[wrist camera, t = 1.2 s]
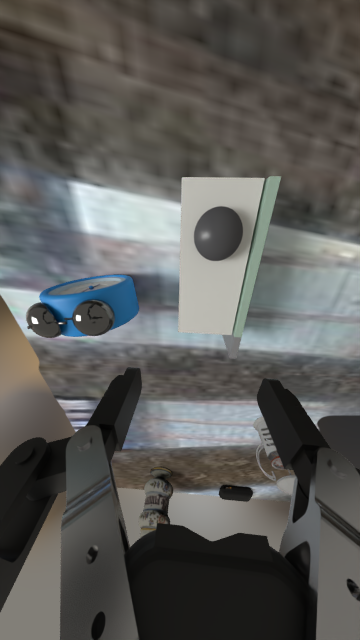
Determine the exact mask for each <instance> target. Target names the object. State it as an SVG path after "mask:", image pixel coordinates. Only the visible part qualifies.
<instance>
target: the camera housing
mask: <svg viewBox="0 0 360 640" xmlns="http://www.w3.org/2000/svg"><path fill="white" fill-rule="evenodd" d="M264 179H265V178H203V177H182V194H181V238H180V282H179V326H178V332H185V333H203V334H221V335H232V331H233V326H234V321H235V317H236V312H237V307H238V302H239V298H240V293H241V288H242V283H243V279H244V274H245V269H246V264H247V260H248V255H249V250H250V246H251V241H252V236H253V231H254V227H255V222H256V217H257V212H258V208H259V203H260V198H261V193H262V189H263V184H264Z"/></svg>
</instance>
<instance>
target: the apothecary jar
mask: <svg viewBox="0 0 360 640" xmlns="http://www.w3.org/2000/svg"><path fill="white" fill-rule="evenodd" d="M150 473H151V474H152V475H153V476H154V477H156V478H154V479H151V480H149V481H148V482H147V483H146V485H145V488H144V490H145V494H146V499H145V505H144V510H143V512H142V513H141V515H140V516H139V521H138V522H139V526H140V528H141V533H140V538H141V537H142V536H144V535H146V534H147V533H149V532H151V531H154V530H156V527H157V523H163V524H170V519H169V517H168V505H169V499H170V498H171V496H172V494H173V488H172V485H171V484H170V483H169V482H168V481H167V480H165V479H167V478H169V477H170V476H171V475H172V472H171V471H170V470H168V469H166V468H162V467H155V468H153V469H151V470H150Z"/></svg>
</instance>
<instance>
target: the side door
mask: <svg viewBox="0 0 360 640" xmlns="http://www.w3.org/2000/svg"><path fill="white" fill-rule="evenodd" d="M280 179H281V176H270V177H269V178H267V179H266V180H265V181H264V184H263V189H262V193H261V198H260V203H259V208H258V212H257V217H256V222H255V227H254V231H253V236H252V241H251V246H250V250H249V255H248V260H247V264H246V269H245V274H244V279H243V283H242V288H241V293H240V298H239V302H238V307H237V312H236V317H235V321H234V326H233V331H232V335H223V338H224V342H225V345H226V348H227V351H228V354H229V357H230V358H236V357H237V353H238V349H239V345H240V341H241V337H242V333H243V329H244V325H245V321H246V317H247V313H248V309H249V305H250V301H251V296H252V292H253V288H254V284H255V280H256V276H257V272H258V268H259V264H260V260H261V256H262V252H263V248H264V244H265V240H266V236H267V232H268V228H269V224H270V220H271V216H272V212H273V208H274V204H275V200H276V195H277V191H278V187H279V183H280Z"/></svg>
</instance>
